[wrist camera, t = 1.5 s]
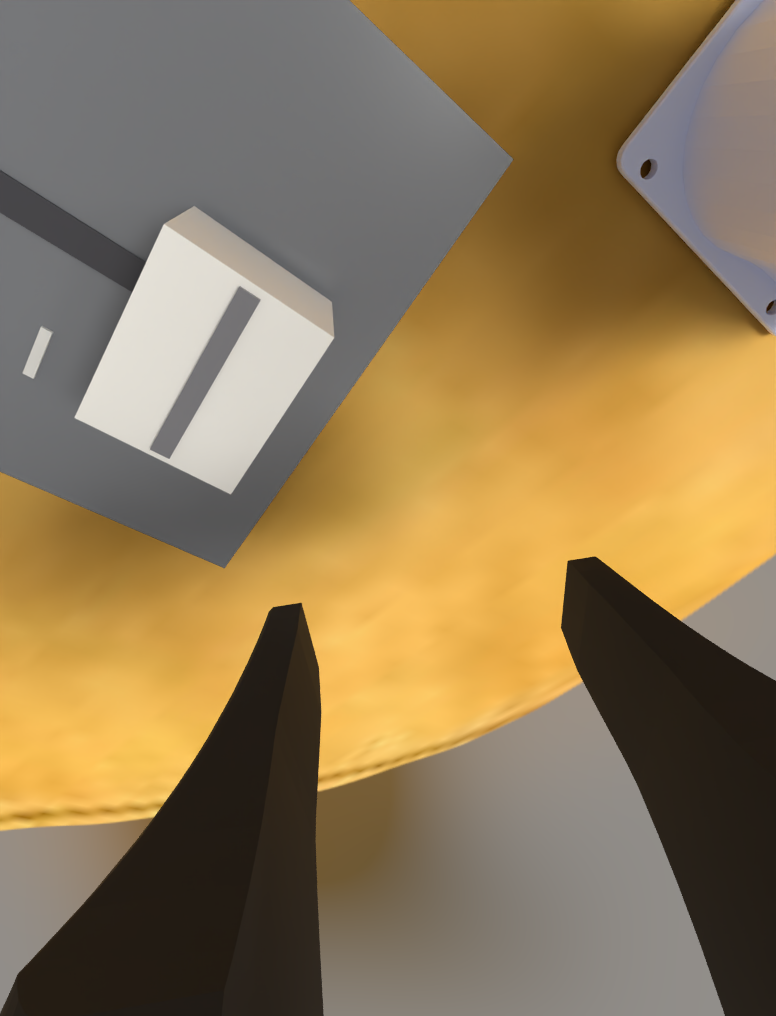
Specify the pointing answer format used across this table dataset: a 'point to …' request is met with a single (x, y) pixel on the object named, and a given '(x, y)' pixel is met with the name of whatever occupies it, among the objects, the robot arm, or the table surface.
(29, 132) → the slide fader panel
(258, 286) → the fader knob
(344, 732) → the table surface
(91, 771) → the table surface
